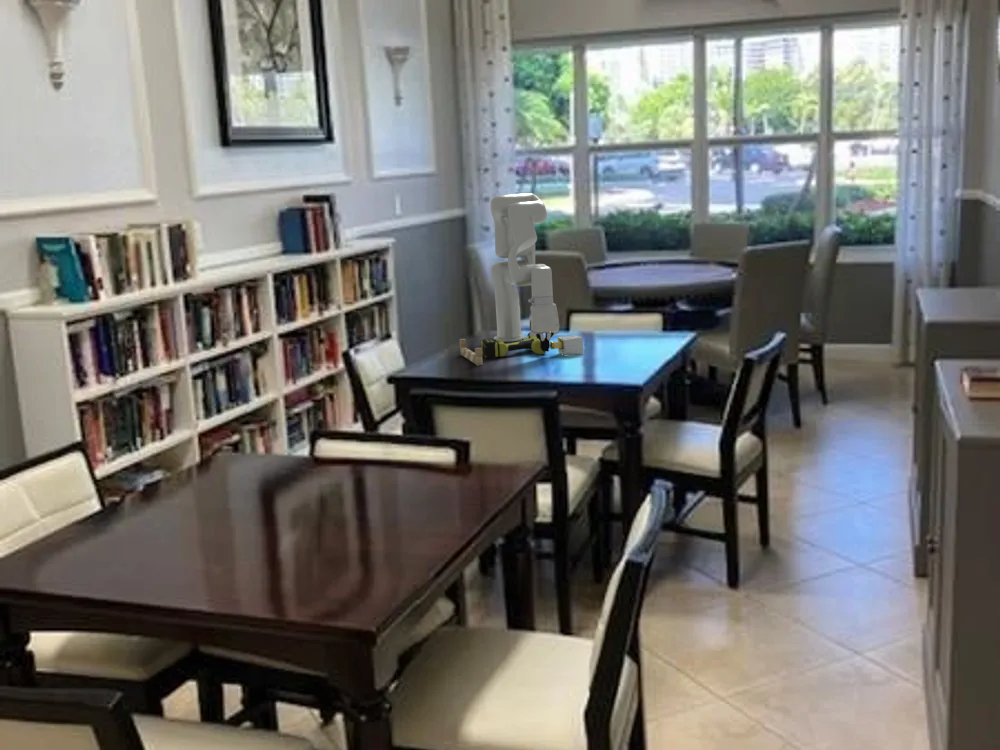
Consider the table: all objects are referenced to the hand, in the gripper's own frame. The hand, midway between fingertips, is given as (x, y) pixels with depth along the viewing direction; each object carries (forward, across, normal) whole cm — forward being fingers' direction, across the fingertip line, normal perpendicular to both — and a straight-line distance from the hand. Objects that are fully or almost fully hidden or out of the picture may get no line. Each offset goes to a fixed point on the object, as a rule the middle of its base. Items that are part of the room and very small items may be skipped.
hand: (545, 350), depth 380 cm
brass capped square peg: (0, +7, 0) cm, 7 cm away
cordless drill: (+3, -7, +17) cm, 19 cm away
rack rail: (+2, -25, +10) cm, 27 cm away
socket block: (+2, +10, 0) cm, 10 cm away
